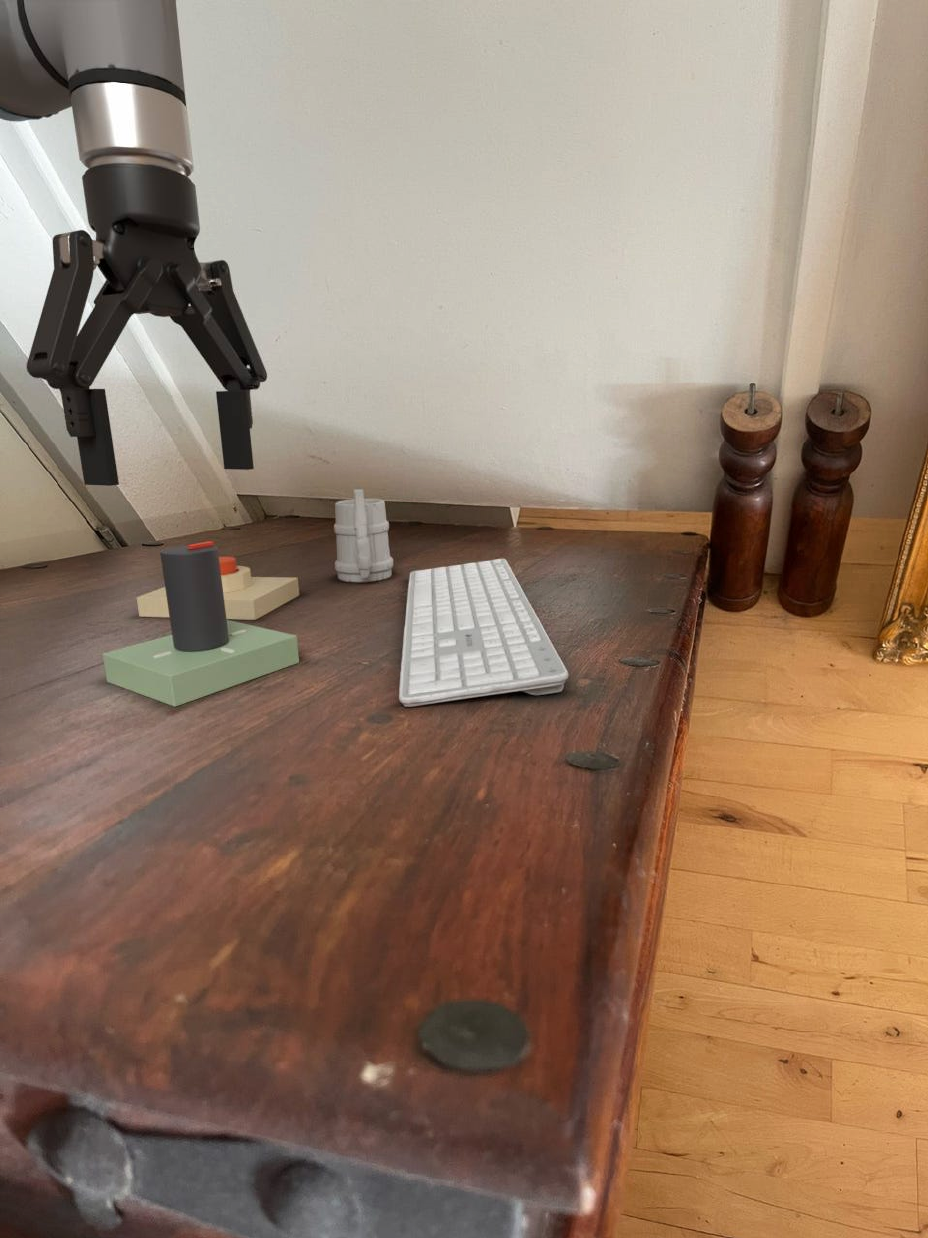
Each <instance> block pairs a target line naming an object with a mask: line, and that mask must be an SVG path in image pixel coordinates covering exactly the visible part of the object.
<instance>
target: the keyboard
mask: <svg viewBox="0 0 928 1238" xmlns="http://www.w3.org/2000/svg"><path fill="white" fill-rule="evenodd" d="M408 578H409V579H408V586H407V595H406V596H407V597H406V607H405V608H406V609H405V620H404V627H403V636H402V637H403V638H402V639H403V640H402V653H401V662H400V675H399V676H400V677H399V689H398V691H399V692H398V701H399V702H400V703H401V704H402V705H403V706H404V707H407V708H413V707H420V706H425V705H432V704H439V703H445V702H452V701H459V700H467V699H474V698H479V697H487V696H494V695H501V694H508V693H514V692H515V693H516V692H523V693H526V694H527V695H532V696H541V695H543V696H544V695H548V694H549V695H550V694H555V693H560V692H562V691H563V689H564V688H565V683H566V681H567V680H568V678H569V676H570V675H569V671H568V669H567V667H566V666H565V664H564V662H563V661H562V659H561V657H560V655H559V654H558V651H557V650H556V648H555V646H554V644H553V643H552V641H551V639H550V637H549V635H548V634H547V632H546V630H545V628H544V626H543V624H542V622H541V621H540V619H539V617H538V615H537V613H536V612H535V610H534V608H533V606H532V605H531V603H530V601H529V599H528V598H527V596H526V594H525V592H524V590H523V588H522V587H521V585H520V583H519V580H518V579H517V577H516V575H515V574H514V572H513V569H512V568H511V566H510V564H509V563H508V561H507V559H506V558H497V559H491V560H484V561H477V562H468V563H463V564H455V565H454V564H453V565H448V566H440V567H434V568H427V569H420V570H413V571H411V572H410V573H409V577H408Z"/></svg>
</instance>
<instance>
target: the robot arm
mask: <svg viewBox="0 0 928 1238" xmlns="http://www.w3.org/2000/svg"><path fill="white" fill-rule="evenodd" d="M182 58H183V57H182V50H181V39H180V30H179V19H178V10H177V0H0V119H1V120H4V121H7V122H8V121H9V122H17V123H19V122H25V121H30V120H31V121H32V120H33V121H36V120H37V121H38V120H41V119H43V118H47V119H49V118H50V117H52V116H54V115H58V114H59V113H60V112H62V111H64V110H67V109H69V108H71V109H72V116H73V123H74V130H75V137H76V138H75V139H76V145H77V151H78V157H79V161H80V162H81V163H82V165H83V166H84V167H86V168H87V169H86V170H85V172H84V173H83V175H82V176H81V180H82V187H83V196H84V202H85V209H86V216H87V223H88V225H89V228H90V229H91V230H92V231H93V232H94V233H95V239H92V237H91V234H89V233H88V231H86V230H84V229H79V230H78V229H77V230H73V231H69V232H62V233H57V234H55V235H54V236H53V237H52V241H51V242H52V255H53V258H52V259H53V271H52V275H51V278H50V282H49V285H48V288H47V292H46V296H45V299H44V303H43V306H42V310H41V312H40V317H39V320H38V323H37V326H36V331H35V333H34V337H33V341H32V344H31V348H30V351H29V355H28V358H27V361H26V371H27V373H28V374H29V376H31V377H32V378H35V379H42V380H45V381H46V382H47V385H48V386H49V387H50V388H52V389H54V390H59V392H60V396H61V397H60V398H61V402H62V408H63V409H62V410H63V414H64V420H65V427H66V431H67V433H68V435H69V436H70V438H76V439H77V445H78V452H79V458H80V459H79V460H80V465H81V472H82V478H83V484H84V485H85V486H105V487H106V486H108V487H111V486H112V487H113V486H119V485H120V482H119V476H118V475H119V473H118V469H117V463H116V462H117V461H116V455H115V448H114V440H113V434H112V428H111V421H110V414H109V408H108V400H107V394H106V388H90V387H91V386H92V385H93V383H94V382H95V380H96V378H97V377H98V374H99V373H100V371H101V369H102V368H103V365H104V364H105V362H106V361H107V359H108V358H109V356H110V354H111V352H112V350H113V348H114V347H115V345H116V344H117V341H118V340H119V338H120V336H121V334H122V333H123V331H124V329H125V327H126V326H127V324H128V323H129V320H130V319H131V317H132V316H133V315H144V314H151V315H152V316H154V317H159V318H167V317H169V318H170V319H171V320H172V322H173V323H175V324H177V325H179V327H181V329H182V330H183V331H184V332H185V334H186V336H187V337H188V338H189V340H190V341H191V343H192V344H193V346H194V347H195V349H196V350H197V351H198V353H199V354H200V355H201V357H202V358H203V360H204V361H205V363H206V364H207V366H208V367H209V368H210V370H211V371H212V373H213V374H214V376H215V377H216V378H217V381H218V382H219V383H220V385H221V386H222V387H223V389H225V390H219V391H218V390H217V391H215V396H216V406H217V415H218V424H219V434H220V443H221V451H222V461H223V469H224V470H237V471H238V470H239V471H241V470H243V471H245V470H246V471H248V470H249V471H250V470H255V467H254V458H253V457H254V455H253V446H252V445H253V444H252V436H251V429H253V424H254V420H253V419H254V418H253V411H252V410H253V409H252V398H251V391H252V390H258V389H260V387H261V383H264V382H266V381H267V379H268V373H267V369H266V367H265V365H264V362H263V360H262V357H261V355H260V352H259V350H258V347H257V345H256V343H255V340H254V338H253V336H252V333H251V331H250V328H249V327H248V323H247V321H246V319H245V316H244V314H243V311H242V309H241V306H240V304H239V301H238V299H237V296H236V295H235V291H234V288H233V282H232V275H231V270H230V266H229V264H228V262H227V261H226V260H224V259H221V260H220V259H219V260H213V261H207V262H200V261H199V259H198V257H197V254H196V250H195V243H196V240H197V238H198V236H199V235H200V231H201V226H200V215H199V207H198V198H197V189H196V185H195V183H194V182H193V181H192V179H191V178H190V176H191V175H192V174H193V172H195V170H194V169H195V168H194V167H195V166H194V159H193V150H192V149H193V148H192V140H191V133H190V132H191V131H190V124H189V123H190V122H189V115H188V107H187V99H186V92H185V91H186V90H185V89H186V88H185V80H184V69H183V60H182ZM96 268H98V269H99V271H100V272H101V274H102V275H103V277H104V279H105V281H104V283H103V285H102V286H101V288H100V290H99V291H98V293H97V295H96V296H95V297H94V299H93V305H94V307H93V308H92V310H91V311H90V313H89V315H88V316H87V318H86V320H85V322H84V324H83V325H82V327H81V329H80V326H81V322H82V319H83V316H84V311H85V308H86V304H87V300H88V298H89V293H90V290H91V287H92V282H93V278H94V271H96Z"/></svg>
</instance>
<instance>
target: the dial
mask: <svg viewBox="0 0 928 1238" xmlns="http://www.w3.org/2000/svg"><path fill="white" fill-rule="evenodd" d="M159 552H160V553H159V554H160V561H161V568H162V574H163V583H164V587H165V589H166V596H167V603H168V610H169V617H170V618H169V623H170V624H169V625H170V631H171V635H172V638H173V644H174V648H175V649H177V650H180V651H203V650H209V649H214V648H217V647H220V646H223V645H225V644H226V643H228V641H229V635H228V627H227V620H228V619H226V611H225V603H224V594H223V586H222V578H221V570H220V562H219V557H220V556H219V548H218V546H216V545H215V542H214V541H210V540H209V541H204V542H198V543H193V544H187V545H179V546H173V547H168V548H165V549H162V550H161V551H159Z"/></svg>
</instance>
